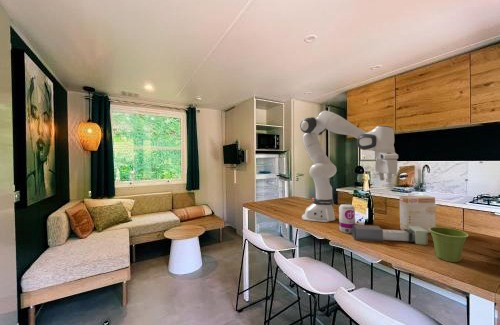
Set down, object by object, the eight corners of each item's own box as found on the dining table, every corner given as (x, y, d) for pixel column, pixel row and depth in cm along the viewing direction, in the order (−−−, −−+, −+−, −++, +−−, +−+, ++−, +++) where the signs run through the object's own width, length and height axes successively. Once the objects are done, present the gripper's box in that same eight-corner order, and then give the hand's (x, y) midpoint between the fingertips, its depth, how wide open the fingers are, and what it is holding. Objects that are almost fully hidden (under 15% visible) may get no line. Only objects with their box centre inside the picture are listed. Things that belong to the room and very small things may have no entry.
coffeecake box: (426, 228, 123) (426, 195, 122) (436, 233, 115) (436, 197, 115) (399, 228, 124) (398, 195, 124) (407, 232, 117) (406, 197, 117)
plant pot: (443, 265, 82) (442, 236, 82) (422, 251, 94) (422, 226, 94) (477, 266, 80) (477, 237, 80) (452, 252, 92) (452, 226, 92)
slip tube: (372, 240, 107) (372, 230, 107) (369, 236, 113) (369, 227, 113) (420, 242, 102) (420, 233, 102) (414, 238, 108) (414, 229, 108)
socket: (416, 244, 102) (415, 230, 102) (408, 238, 109) (408, 225, 109) (428, 244, 101) (427, 231, 101) (419, 238, 108) (419, 226, 108)
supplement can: (358, 233, 118) (357, 206, 118) (343, 234, 118) (342, 207, 118) (350, 228, 126) (350, 203, 126) (337, 229, 126) (336, 204, 126)
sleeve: (354, 240, 109) (354, 228, 109) (351, 235, 115) (351, 224, 115) (383, 241, 106) (382, 229, 106) (378, 236, 112) (378, 225, 112)
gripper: (372, 155, 125) (372, 179, 125) (385, 155, 105) (386, 183, 105) (384, 155, 123) (384, 179, 123) (399, 155, 103) (400, 183, 104)
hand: (385, 181), depth 114 cm, fingers open, 8 cm apart
